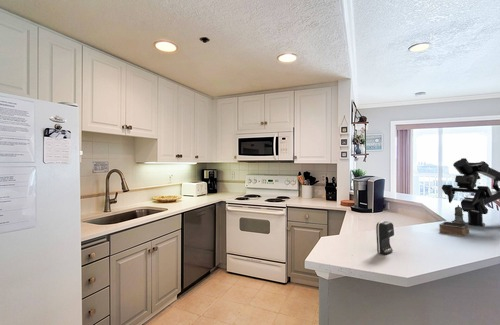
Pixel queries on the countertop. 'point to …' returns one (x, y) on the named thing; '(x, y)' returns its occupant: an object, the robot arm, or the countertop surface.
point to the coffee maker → (384, 236)
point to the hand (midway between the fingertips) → (460, 203)
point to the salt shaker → (459, 216)
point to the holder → (454, 228)
